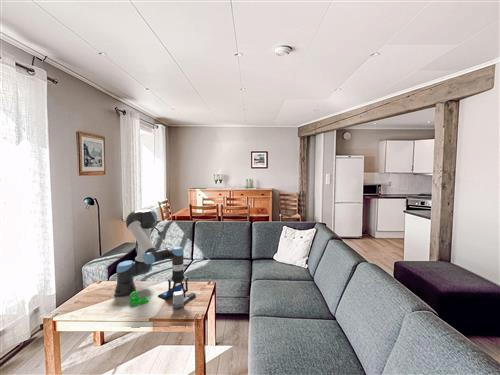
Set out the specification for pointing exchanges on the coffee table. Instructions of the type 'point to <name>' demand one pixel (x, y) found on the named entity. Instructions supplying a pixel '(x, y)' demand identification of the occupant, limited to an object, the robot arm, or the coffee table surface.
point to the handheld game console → (166, 294)
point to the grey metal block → (178, 298)
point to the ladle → (184, 301)
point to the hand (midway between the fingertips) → (178, 302)
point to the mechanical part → (137, 299)
